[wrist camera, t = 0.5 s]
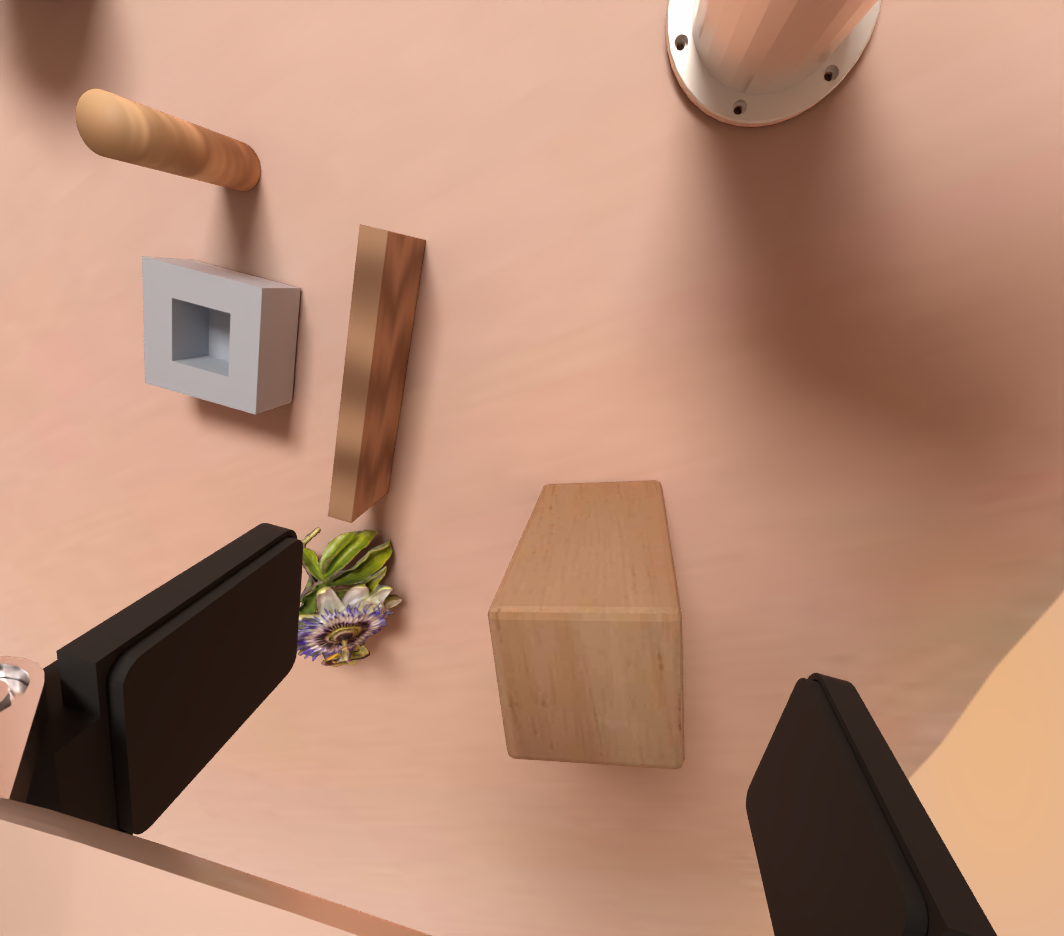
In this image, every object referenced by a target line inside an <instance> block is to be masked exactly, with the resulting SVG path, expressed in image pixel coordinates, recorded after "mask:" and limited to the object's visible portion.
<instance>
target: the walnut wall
mask: <svg viewBox="0 0 1064 936" xmlns="http://www.w3.org/2000/svg"><path fill="white" fill-rule="evenodd" d="M425 242H426V240H423V239H419V238H415V237H411V236H407V235H403V234H398V233H394V232H390V231H386V230H381V229H377V228H373V227H369V226H364V225H360V228H359V237H358V246H357V255H356V265H355V274H354V283H353V292H352V301H351V310H350V320H349V329H348V338H347V347H346V356H345V366H344V375H343V384H342V393H341V402H340V412H339V421H338V430H337V439H336V448H335V457H334V467H333V476H332V485H331V494H330V503H329V513H328V516H330V517H333V518H336V519H339V520H343V521H346V522H349V523H352V522H353V521H354V520H355V519H357V518H358V517H359V516H360V515H361V514H363V513H364V512H365V511H366V510H367V509H369V508H370V507H371V506H372V505H373V504H375V503H376V502H377V501H378V500H379V499H381V498H382V497H383V496H384V495H385V494H387V493H388V490H389V483H390V476H391V470H392V463H393V456H394V450H395V443H396V436H397V429H398V423H399V416H400V409H401V403H402V396H403V389H404V383H405V376H406V369H407V363H408V356H409V349H410V343H411V336H412V329H413V323H414V316H415V309H416V303H417V296H418V289H419V283H420V276H421V269H422V262H423V256H424V249H425Z"/></svg>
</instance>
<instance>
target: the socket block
mask: <svg viewBox="0 0 1064 936" xmlns="http://www.w3.org/2000/svg"><path fill="white" fill-rule="evenodd" d="M142 270H143V316H144V362H145V383H147V384H150V385H154V386H157V387H161V388H164V389H168V390H171V391H175V392H178V393H182V394H185V395H189V396H192V397H196V398H199V399H203V400H206V401H210V402H213V403H217V404H220V405H224V406H227V407H231V408H234V409H238V410H241V411H245V412H248V413H252V414H255V415H256V414H259V413H262V412H265V411H268V410H271V409H274V408H277V407H280V406H283V405H286V404H289V403H292V394H293V381H294V368H295V355H296V342H297V328H298V315H299V302H300V289H301V288H298V287H294V286H291V285H287V284H283V283H279V282H275V281H272V280H268V279H264V278H260V277H256V276H253V275H249V274H245V273H241V272H237V271H233V270H230V269H226V268H222V267H218V266H214V265H211V264H207V263H203V262H199V261H195V260H190V259H175V258H159V257H144V256H142Z"/></svg>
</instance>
